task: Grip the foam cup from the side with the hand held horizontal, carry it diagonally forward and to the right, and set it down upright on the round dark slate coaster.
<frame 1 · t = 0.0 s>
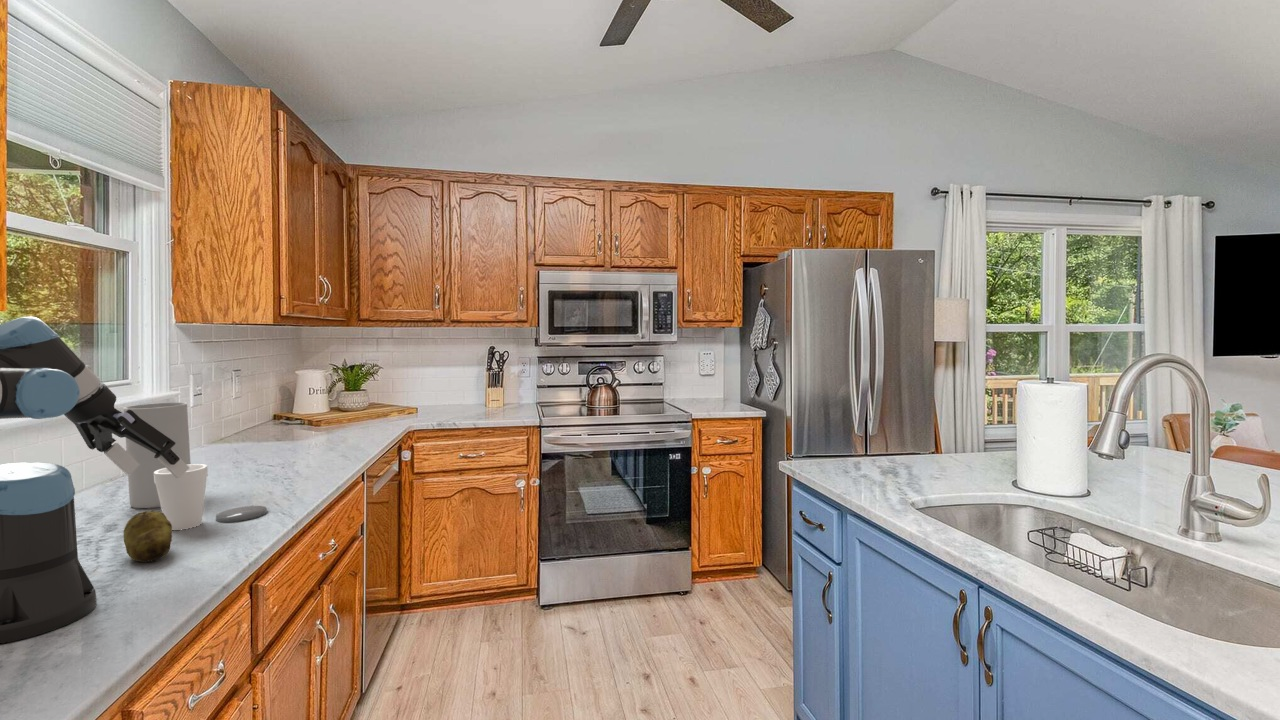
hand: (157, 471, 120), 15 cm above the table, tool tilted 35°, fingers open, 13 cm apart
cylinder vase: (162, 502, 152), on the table
foam cup: (184, 527, 133), on the table
potato: (149, 556, 116), on the table
coaster: (241, 515, 140), on the table
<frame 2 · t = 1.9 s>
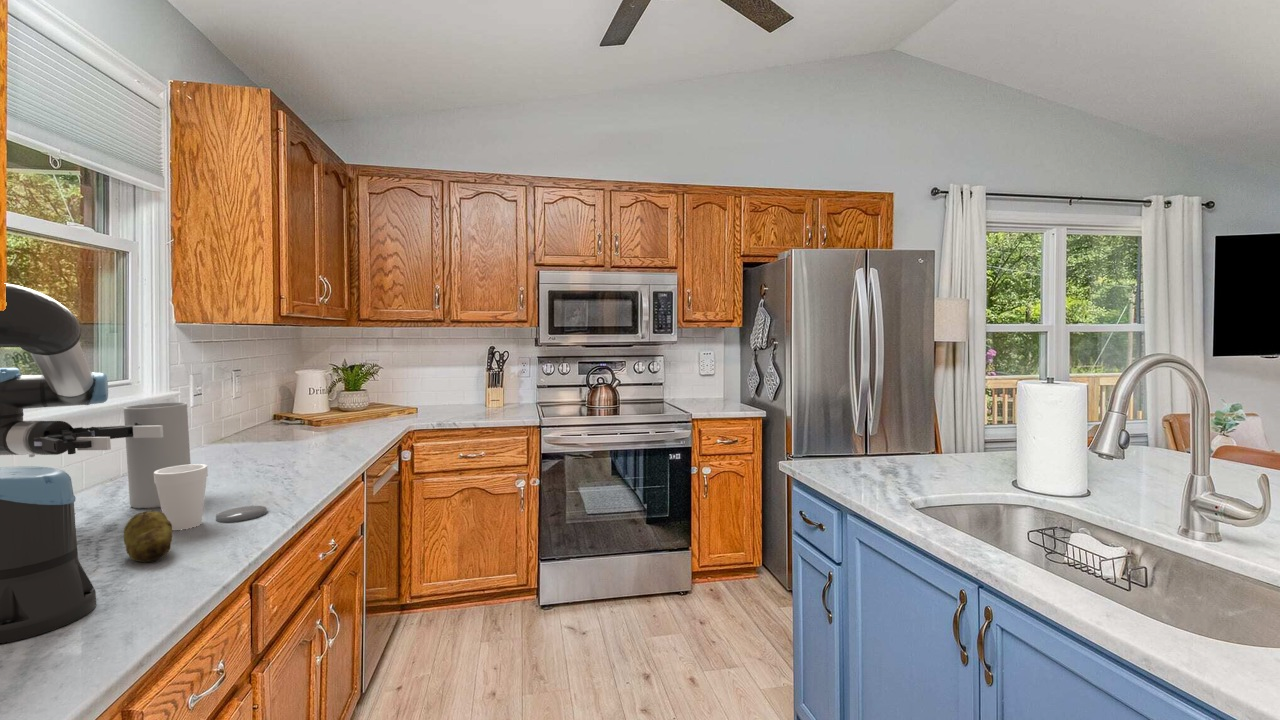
hand: (136, 437, 132), 20 cm above the table, tool horizontal, fingers open, 13 cm apart
nothing on the table moved.
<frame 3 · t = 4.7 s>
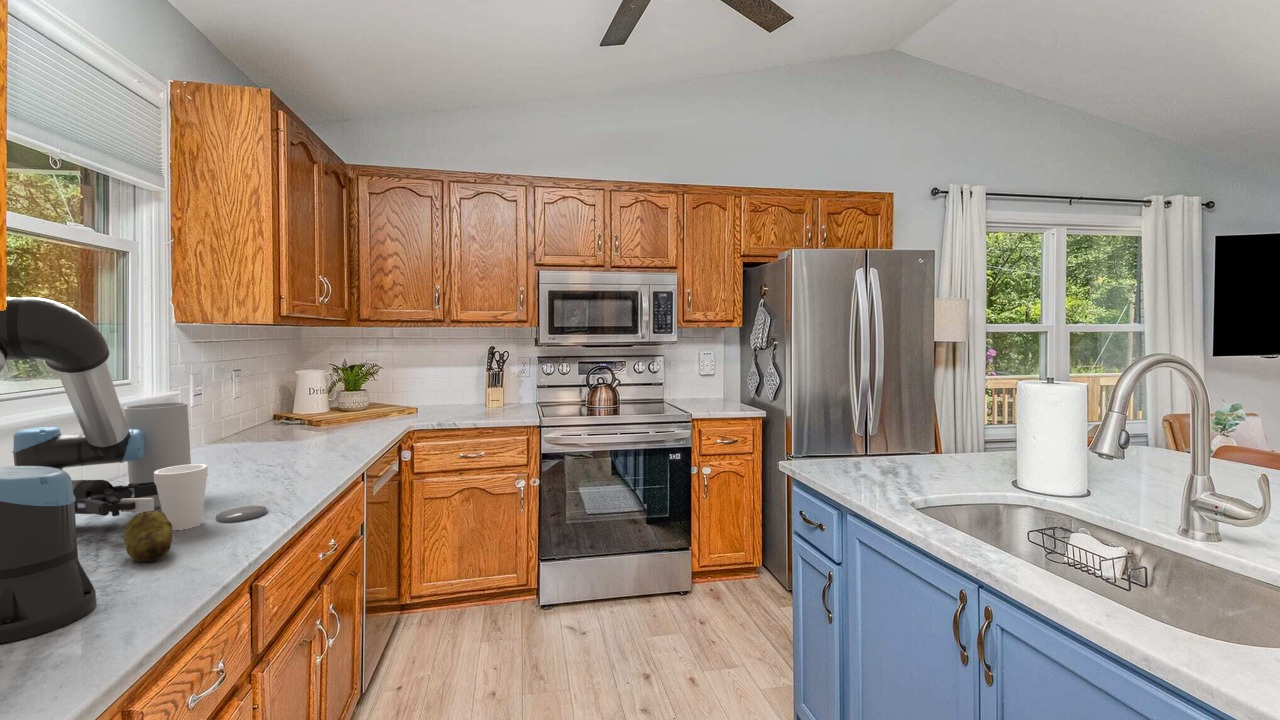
hand: (177, 495, 133), 7 cm above the table, tool horizontal, fingers open, 13 cm apart
nothing on the table moved.
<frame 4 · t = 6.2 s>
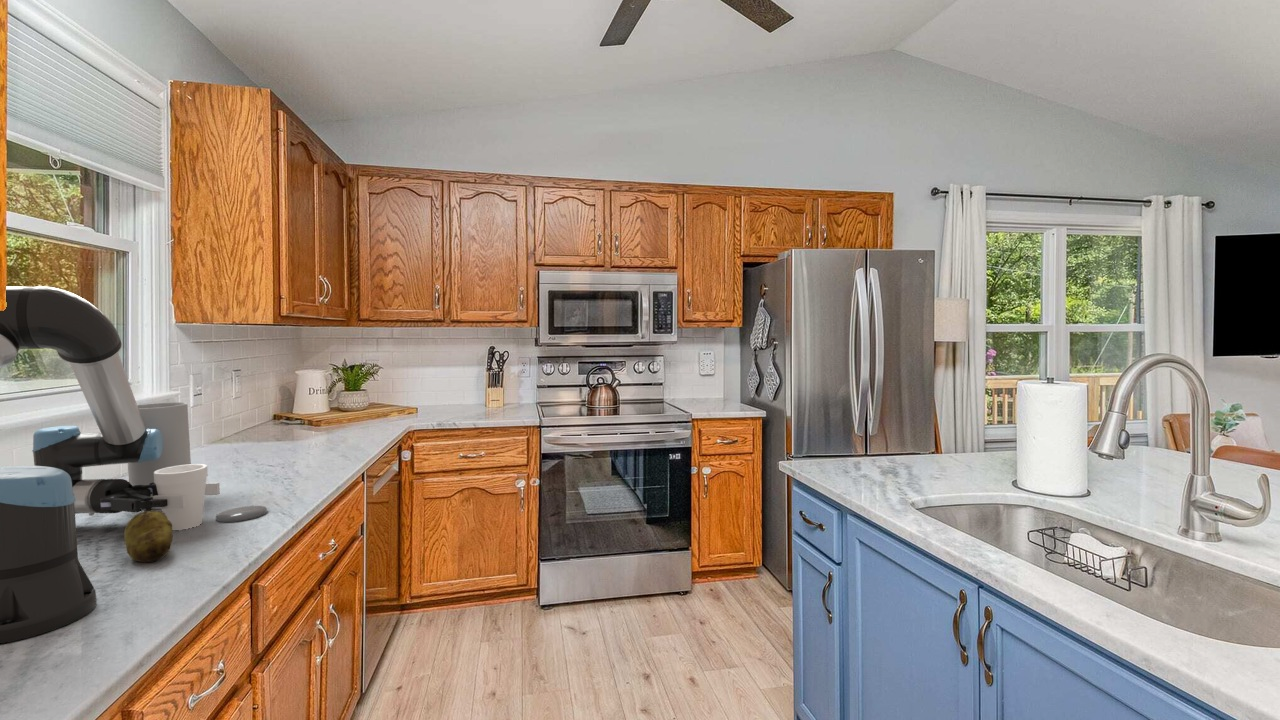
hand: (202, 495, 133), 7 cm above the table, tool horizontal, fingers closed on foam cup, 9 cm apart
foam cup: (184, 526, 133), on the table, touching gripper
everything else where it was.
when the fingers open (8 cm above the table, at t = 10.9 s): foam cup stays where it is, resting on coaster.
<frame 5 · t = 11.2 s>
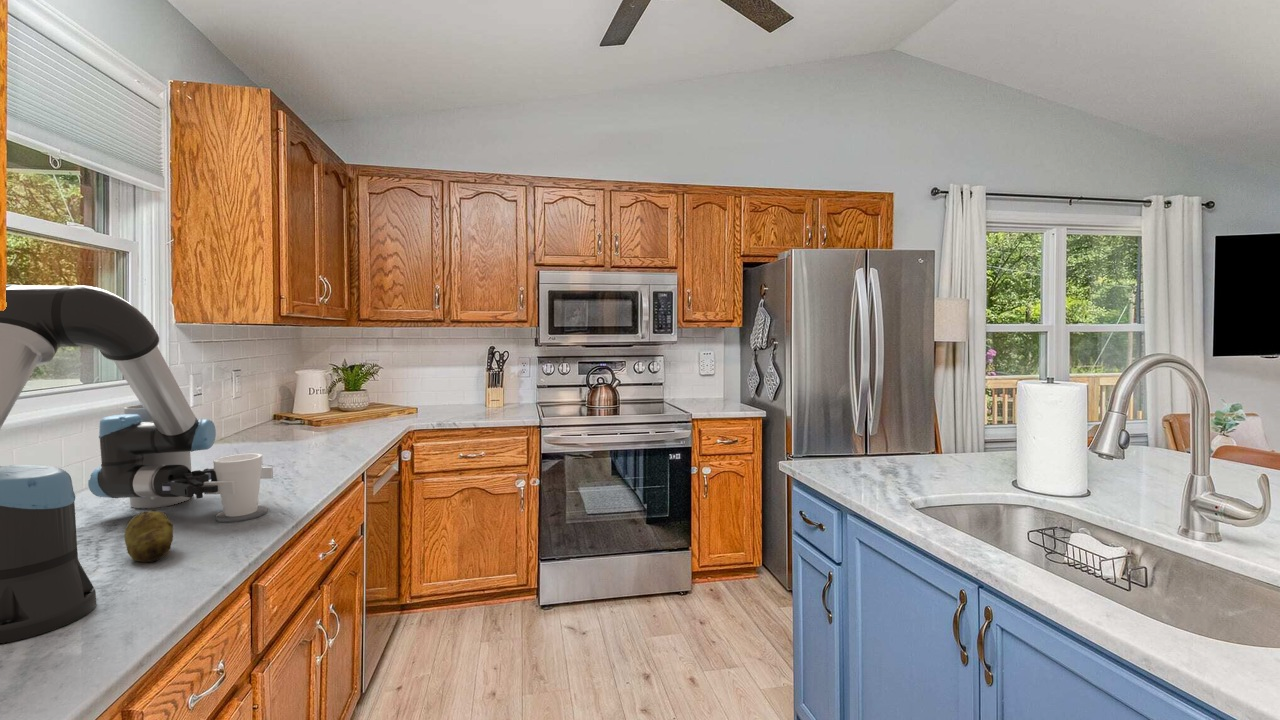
hand: (254, 479, 139), 8 cm above the table, tool horizontal, fingers open, 13 cm apart
foam cup: (241, 513, 140), point 1 cm above the table, touching coaster
everything else where it was.
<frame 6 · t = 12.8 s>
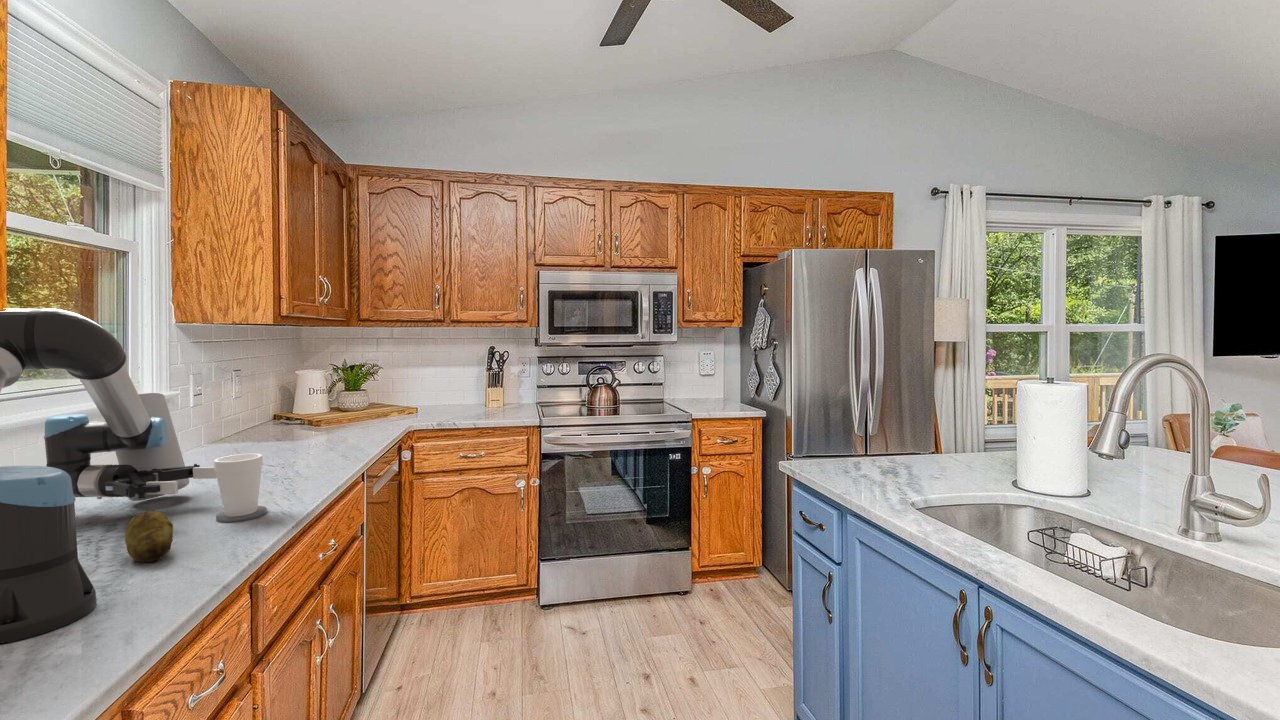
hand: (199, 479, 140), 9 cm above the table, tool horizontal, fingers open, 13 cm apart
cylinder vase: (160, 493, 152), point 2 cm above the table
everything else where it was.
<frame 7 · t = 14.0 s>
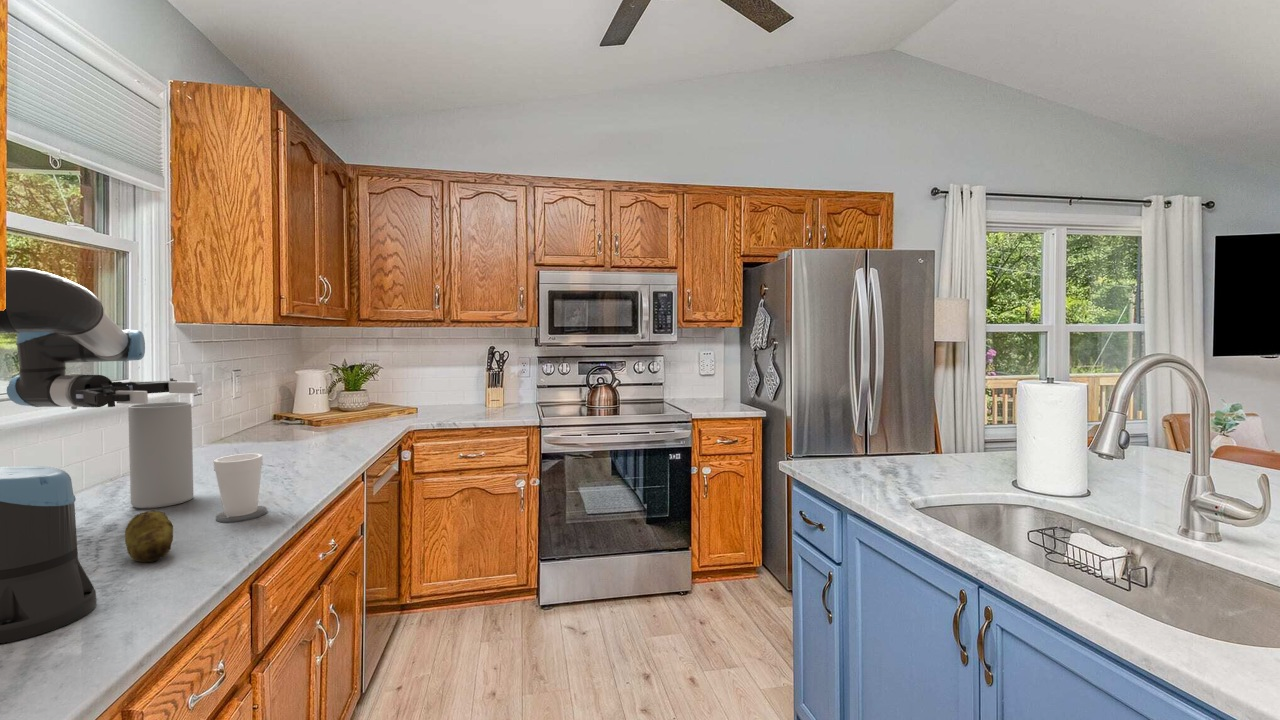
hand: (172, 392, 136), 30 cm above the table, tool horizontal, fingers open, 13 cm apart
cylinder vase: (163, 502, 152), on the table
everything else where it was.
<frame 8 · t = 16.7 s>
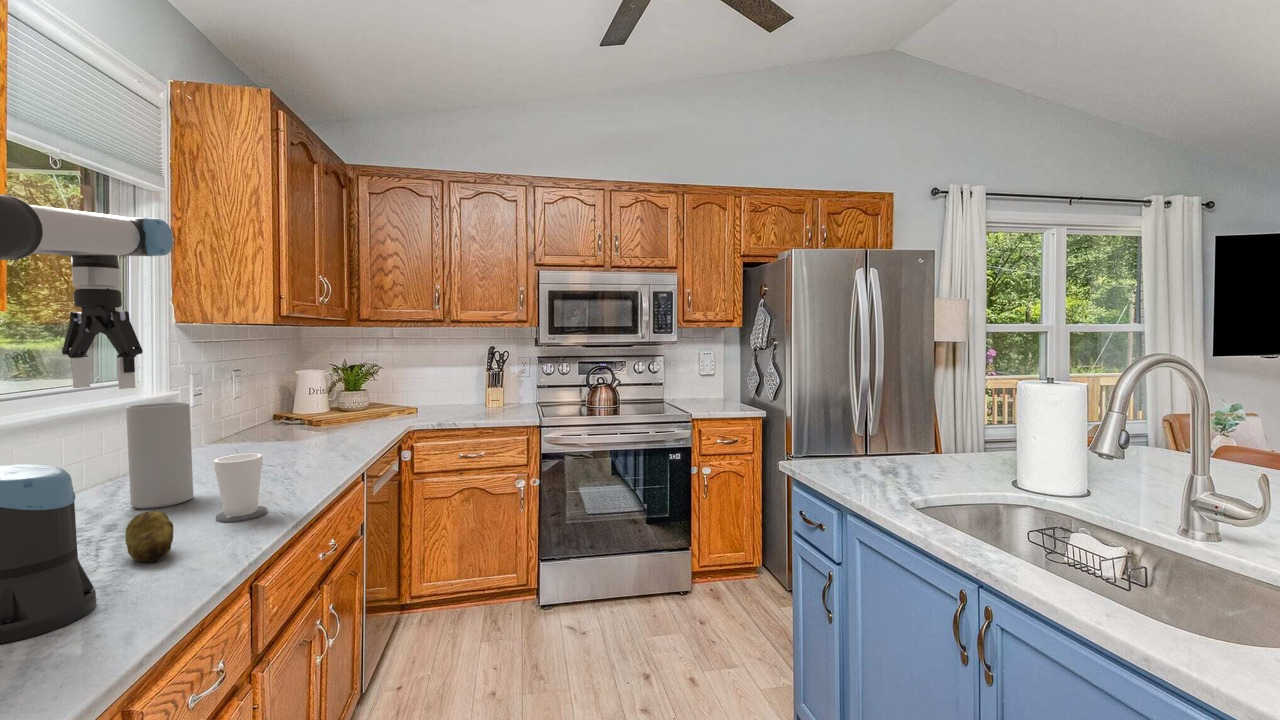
hand: (104, 388, 127), 32 cm above the table, tool pointing down, fingers open, 13 cm apart
nothing on the table moved.
at the end: foam cup 0.1 cm from the coaster (horizontally); foam cup tilted 0°; the gripper is holding nothing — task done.
